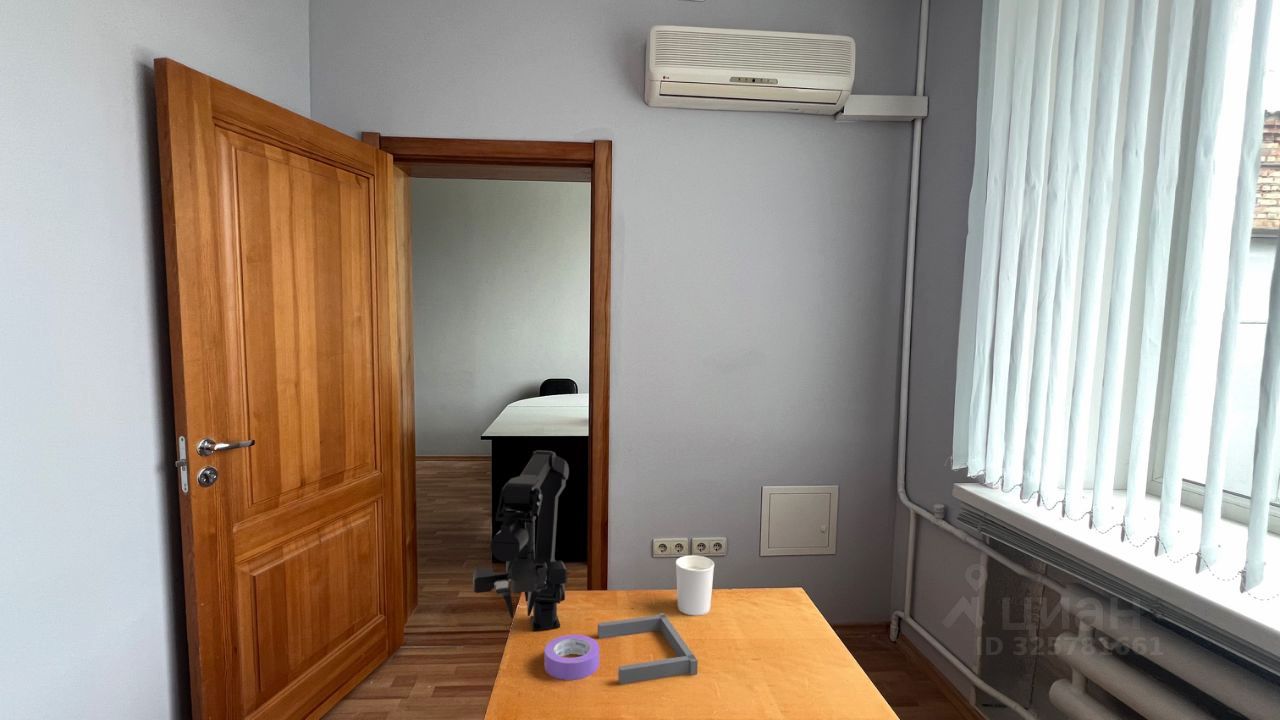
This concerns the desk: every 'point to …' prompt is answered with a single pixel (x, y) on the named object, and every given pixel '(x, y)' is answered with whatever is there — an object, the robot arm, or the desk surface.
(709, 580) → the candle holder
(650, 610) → the desk surface
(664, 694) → the desk surface
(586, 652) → the masking tape
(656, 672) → the grey bay
